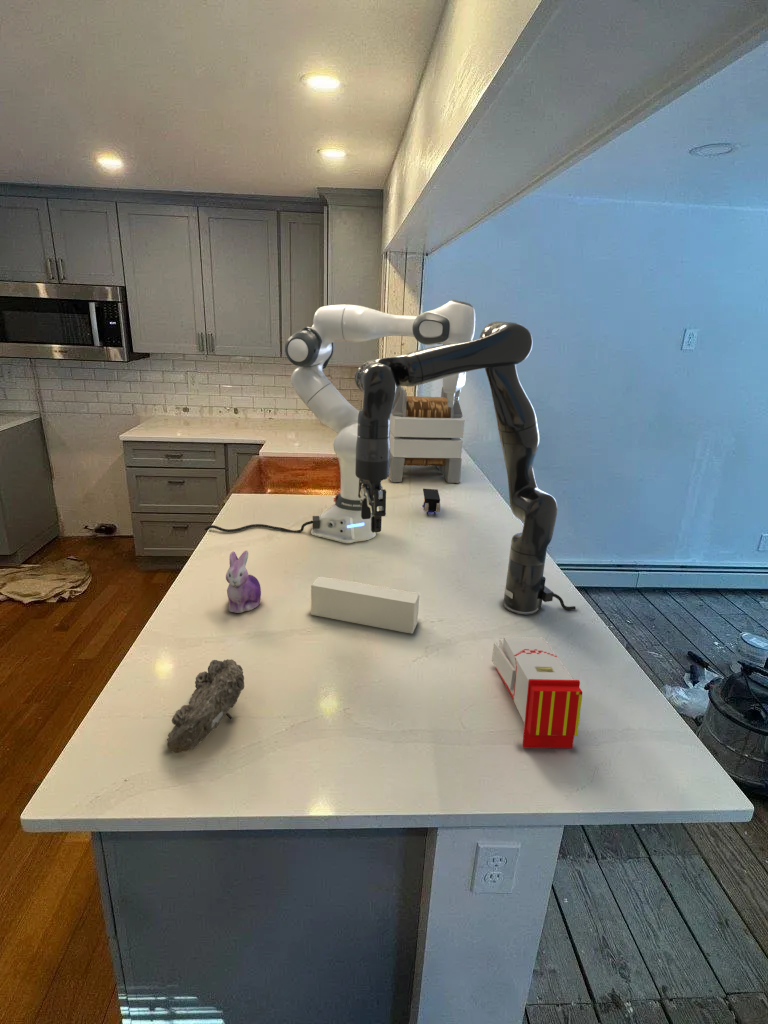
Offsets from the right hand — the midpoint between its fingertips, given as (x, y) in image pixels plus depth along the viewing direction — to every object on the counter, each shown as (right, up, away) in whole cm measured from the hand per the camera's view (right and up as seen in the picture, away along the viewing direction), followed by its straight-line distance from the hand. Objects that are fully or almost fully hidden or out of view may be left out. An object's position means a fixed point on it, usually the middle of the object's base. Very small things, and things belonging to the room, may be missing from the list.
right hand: (370, 524), depth 130 cm
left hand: (+24, +36, +45) cm, 62 cm away
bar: (-2, -24, +15) cm, 28 cm away
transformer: (+20, +22, +145) cm, 148 cm away
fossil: (-30, -36, -22) cm, 52 cm away
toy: (+33, -36, -13) cm, 50 cm away
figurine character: (+21, +3, +93) cm, 96 cm away
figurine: (-33, -22, +18) cm, 44 cm away
